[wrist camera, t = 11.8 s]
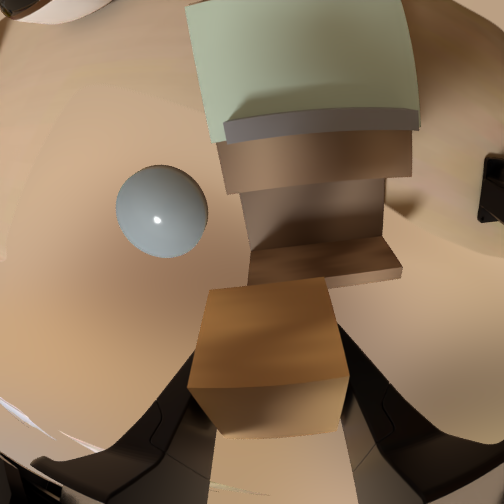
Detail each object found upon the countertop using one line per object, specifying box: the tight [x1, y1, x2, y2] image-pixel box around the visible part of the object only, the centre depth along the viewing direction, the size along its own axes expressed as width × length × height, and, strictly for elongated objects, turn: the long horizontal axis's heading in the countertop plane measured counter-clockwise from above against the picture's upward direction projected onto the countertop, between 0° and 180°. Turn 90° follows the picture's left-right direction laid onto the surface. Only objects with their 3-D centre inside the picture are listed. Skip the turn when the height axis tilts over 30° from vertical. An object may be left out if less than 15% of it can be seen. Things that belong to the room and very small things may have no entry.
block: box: [187, 277, 350, 439], centre depth 9 cm, size 4×4×4 cm
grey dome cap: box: [116, 165, 208, 258], centre depth 21 cm, size 8×8×1 cm
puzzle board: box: [189, 0, 412, 289], centre depth 16 cm, size 11×19×5 cm, turn 10°
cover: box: [185, 0, 421, 144], centre depth 10 cm, size 11×8×2 cm
